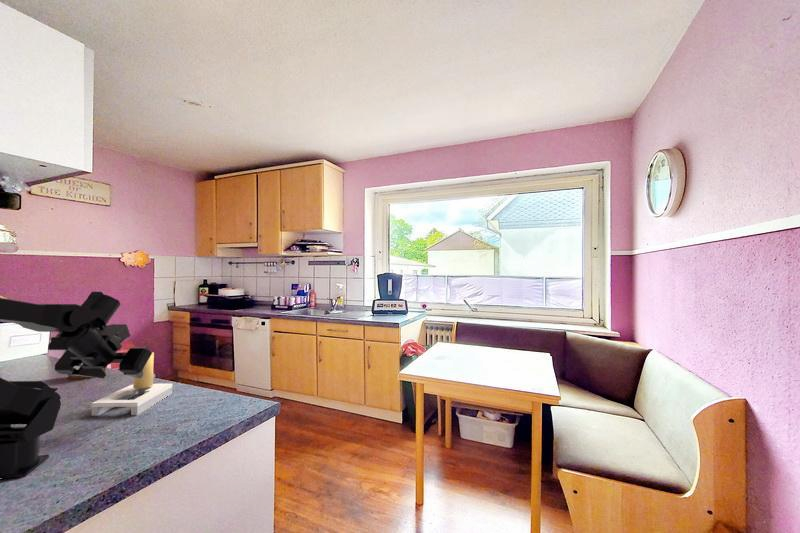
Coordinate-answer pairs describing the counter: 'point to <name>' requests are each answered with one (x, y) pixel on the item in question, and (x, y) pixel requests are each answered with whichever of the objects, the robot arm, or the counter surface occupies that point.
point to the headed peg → (144, 378)
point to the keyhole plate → (137, 405)
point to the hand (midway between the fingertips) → (123, 376)
